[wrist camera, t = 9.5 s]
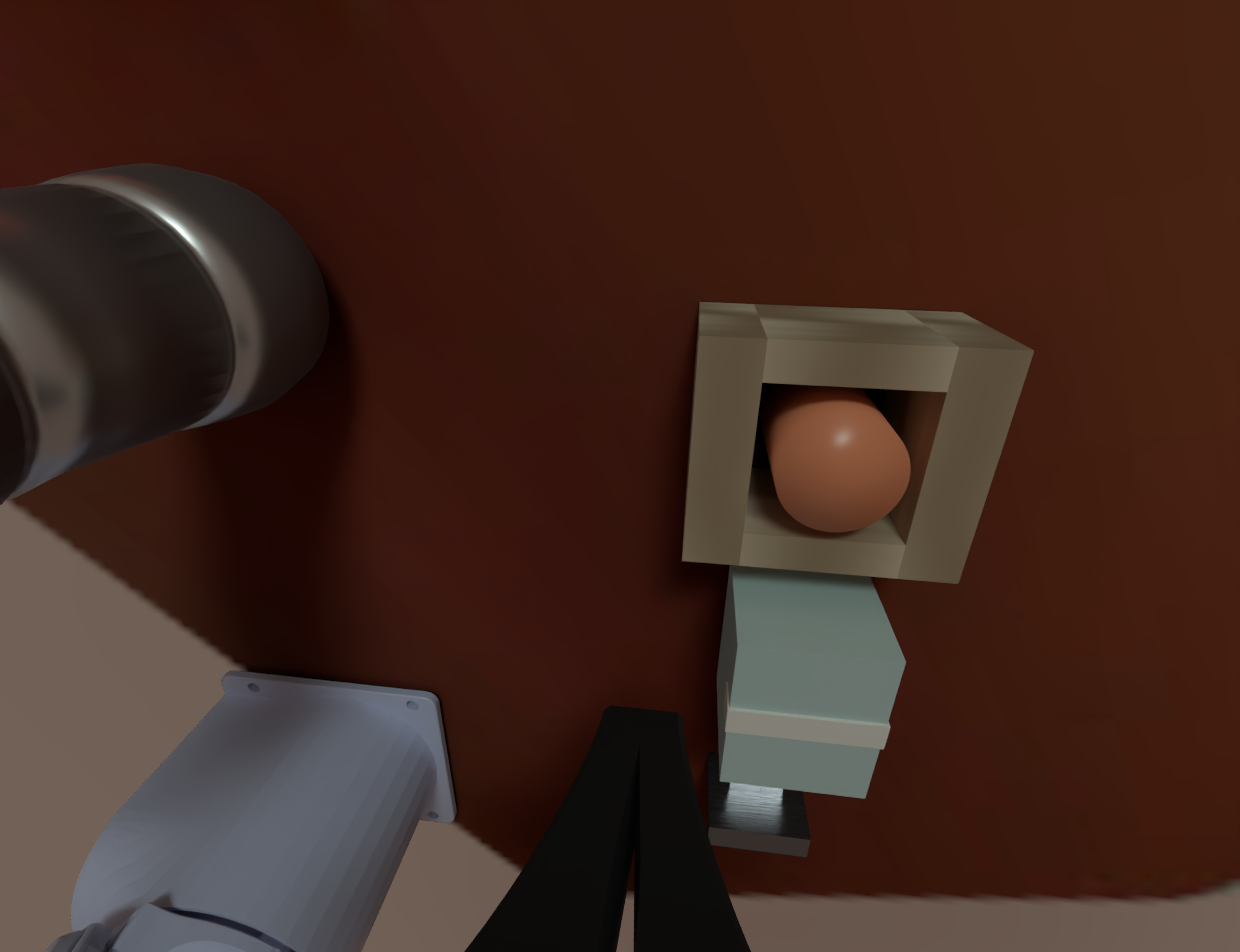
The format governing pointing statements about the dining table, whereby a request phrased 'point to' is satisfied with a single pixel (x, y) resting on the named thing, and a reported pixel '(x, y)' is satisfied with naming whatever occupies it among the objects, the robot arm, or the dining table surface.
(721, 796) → the rail
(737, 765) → the block
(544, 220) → the dining table surface
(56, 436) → the plastic bottle
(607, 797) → the robot arm
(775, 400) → the button
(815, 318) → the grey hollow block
